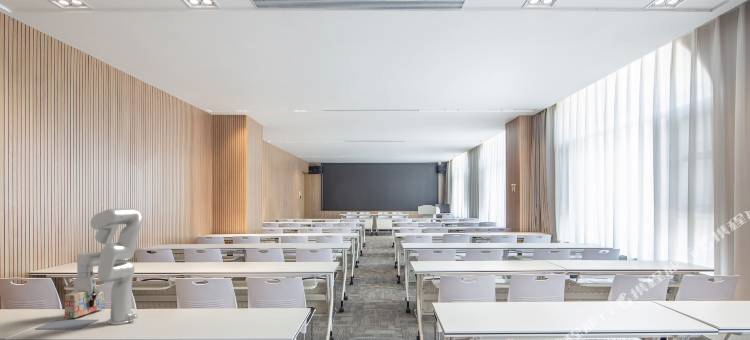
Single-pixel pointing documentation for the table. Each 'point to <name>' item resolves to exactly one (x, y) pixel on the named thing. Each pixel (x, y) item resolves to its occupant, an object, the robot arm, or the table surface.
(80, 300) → the stack of blocks
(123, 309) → the robot arm
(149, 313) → the table surface
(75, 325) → the mat
